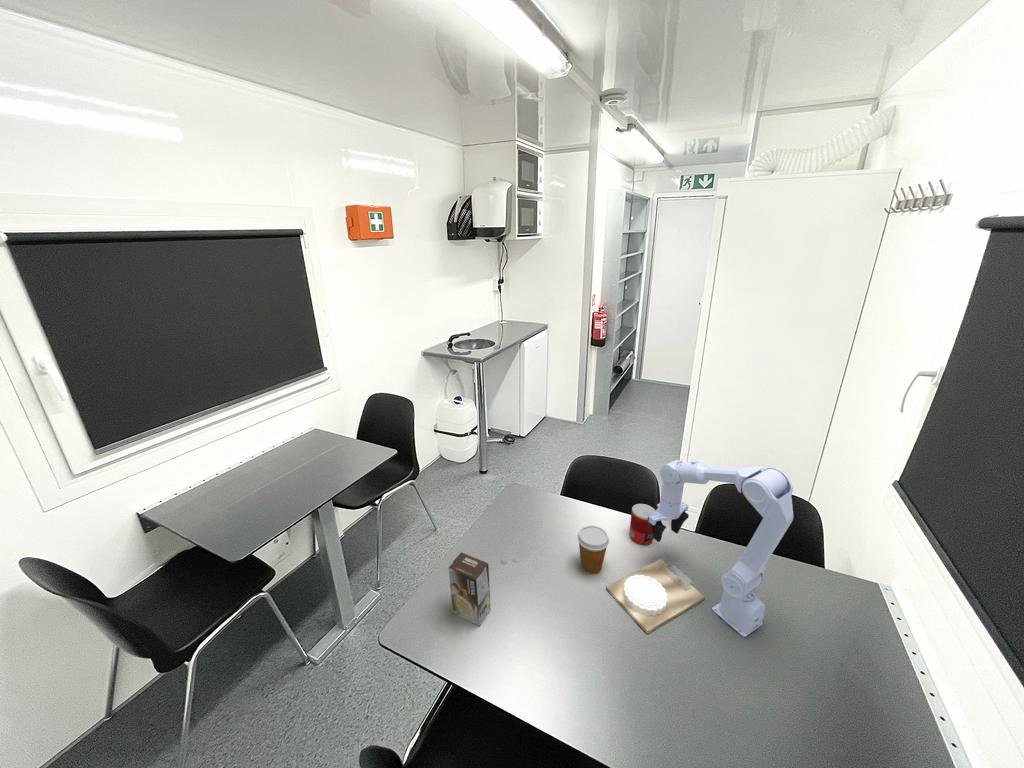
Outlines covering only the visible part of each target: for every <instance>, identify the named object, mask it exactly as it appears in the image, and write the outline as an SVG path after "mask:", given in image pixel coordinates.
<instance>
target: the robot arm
mask: <svg viewBox="0 0 1024 768" xmlns="http://www.w3.org/2000/svg"><path fill="white" fill-rule="evenodd" d="M762 469H763V470H762ZM659 476H660V478H661V479H662V485H661V492H660V501H659V503H657V504H656V507H657V508H656V509H655V510H656V511H655V512H654V513H653V514H652V515H651V516H649V517H648V522H649V524H650V526H651V528H652V532H653V540H655V541H656V542H658V543H660V542H661V541H662V537H663V533H664V531H665V530H666V528H667V526H666V525H665V524H664V523H663V521H669V520H670V530H671V531H672V532H673V533H675V534H678V533H680V530H681V528H682V526H683V524H684V523H685V522H686V521H687V519H689V517H690V516H689V514H688V513H687V512H688V511H689V504H687V503H685V501H683V502H682V497H683V493H684V492H683V491H684V485H685V484H695V485H696V484H697V485H698V484H699V485H707V484H708V482H709V481H712V482H713V481H714V482H719V483H727V484H734V485H735V487H736V489H737V491H738V493H740V494H741V493H742V494H743V496H744V497H745V498H746V500H747V501H748V502H749V503H750V504H751V506H752V507H753V508H754V509H755V510H756V511H757V512H758V514H759V515H760V516H761V517H762V519H761V522H760V523H759V525H758V527H757V528H756V530H755V532H754V533H753V536H752V537H751V539H750V541H749V543H748V544H747V545H746V547H745V549H744V552H743V553H742V554H741V556H740V558H739V560H738V561H737V562H735V564H734V565H733V566H732V567H731V569H730V570H729V571H728V572H726V573H724V574H722V576H721V578H720V583H721V585H722V588H723V590H722V593H721V599H720V602H719V603H717V604H716V605H714V606H713V607H711V610H712V611H713V612H714V613H715V614H716V615H717V616H719V618H721V619H723V621H724V622H725V623H726V624H727V625H729V626H730V627H731V628H732V629H733V630H735V631H736V632H737V633H738V634H739V635H741V636H742V637H743V638H747V636H749V635H750V634H751V633H753V632H754V631H756V630H757V629H759V628H760V627H761V626H763V619H764V615H765V612H766V605H765V604H764V603H763V602H762V601H761V600H760V599H759V597H758V596H757V587H758V586H759V585H761V584H763V582H764V580H765V576H764V573H765V570H766V567H765V566H766V564H767V562H768V561H769V559H770V558H771V556H772V554H773V553H774V551H775V550H776V548H777V546H778V545H779V543H780V541H781V540H782V539H783V537H784V535H785V534H786V532H787V530H788V529H789V527H790V525H791V524H792V523H793V521H794V510H793V509H794V508H793V507H794V506H793V499H792V495H793V490H794V486H793V484H792V482H791V481H790V479H789V477H788V475H787V474H786V473H785V472H784V471H782V469H779V468H776V467H767V468H765V466H760V465H758V466H755V465H754V466H719V467H714V466H713V467H712V466H711V467H710V466H708V464H707V463H705V462H699V460H696V459H695V460H691V461H690V462H689V461H688V462H687V461H683V460H679V459H676V460H673V461H670V462H669V463H665V464H664V465H662V466H661V467H660V468H659Z"/></svg>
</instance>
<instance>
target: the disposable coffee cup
mask: <svg viewBox="0 0 1024 768" xmlns="http://www.w3.org/2000/svg"><path fill="white" fill-rule="evenodd" d="M576 537H577V538H576V539H577V542H578V543H579V544H578V545H579V546H578V547H579V559H580V567H581V569H582V570H583V571H584V572H585V573H587V574H590V575H595V574H598V573H600V572H601V570H602V568H603V564H604V559H605V556H606V552H607V548H608V546H609V544H610V538H609V536H608V533H607V531H606V530H604V529H603V528H602V527H601V526H596V525H586V526H583V527H582V528H581V529H579V532H578V533H577V536H576Z"/></svg>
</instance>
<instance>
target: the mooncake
mask: <svg viewBox="0 0 1024 768" xmlns="http://www.w3.org/2000/svg"><path fill="white" fill-rule="evenodd" d="M623 596H624V600H625V602H627V605H628V606H629V607H632V609H633V610H634V611H638V613H640V614H645V615H647V616H650V615H653V616H656V615H657V614H661V613H662V611H665V609H666V606H667V603H668V599H667V597H668V595H667V593H666V590H665V588H663V587H662V585H661V584H660V583H658V582H657V581H656V580H655V579H651V577H649V576H644V575H640V576H639V575H634V576H630V577H629V579H626V582H625V583H624V585H623Z"/></svg>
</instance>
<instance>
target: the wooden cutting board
mask: <svg viewBox="0 0 1024 768" xmlns="http://www.w3.org/2000/svg"><path fill="white" fill-rule="evenodd" d="M634 575H639V576H640V575H644V576H649V577H651V579H655V580H656V581H657V582H658V583H660V584H661V585H662V587H663V588H665V590H666V593H667V595H668V597H667V599H668V603H667V606H666V609H665V611H662V613H661V614H657V615H656V616H653V615H650V616H647V615H645V614H640V613H638V611H634V610H633V609H632V607H629V606H628V605H627V602H625V600H624V596H623V585H624V583H625V582H626V579H629V577H630V576H634ZM605 590H606V591H607V592H608V593H609V594H610V595H611V597H612V598H613V599H615V600H616V602H617V603H618V604H619V605H620V606H621V607H622V608H623V609H624V611H625V612H626V613H627V614H628V615H629V616H630V617H631V619H633V620H634V621H635V622H636V623H637V625H638V626H639V627H640V628H641V629H642V630H643V631H644V633H645V634H646V635H649V634H651V632H653V631H655V630H657V629H658V628H660V627H661V626H663V625H665V624H667V623H668V622H670V621H671V620H673V619H674V618H676V617H678V616H679V615H681V614H684V612H686V611H687V610H689V609H691V608H693V607H694V606H696V605H697V604H700V603H701V602H703V601H704V600H705V598H706V596H705V595H703V593H701V592H700V591H699V590H698V589H697V588H695V587H694V586H693V580H691V579H690V578H689V577H688V575H686V574H685V573H683V572H682V571H681V570H680V569H679V568H677V567H676V566H675V565H674V564H672V563H671V562H668V563H666V562H665V561H664V560H662V558H659V559H658V560H656V561H654V562H652V563H650V564H648V565H646V566H644V567H642V568H640V569H639V570H636V571H634V572H632V573H630V574H628V575H626V576H625V577H622V578H620V579H618V580H617V581H614V582H612V583H610V584H608V585H606V587H605Z"/></svg>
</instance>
